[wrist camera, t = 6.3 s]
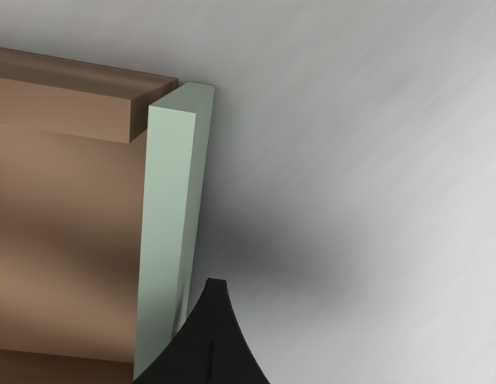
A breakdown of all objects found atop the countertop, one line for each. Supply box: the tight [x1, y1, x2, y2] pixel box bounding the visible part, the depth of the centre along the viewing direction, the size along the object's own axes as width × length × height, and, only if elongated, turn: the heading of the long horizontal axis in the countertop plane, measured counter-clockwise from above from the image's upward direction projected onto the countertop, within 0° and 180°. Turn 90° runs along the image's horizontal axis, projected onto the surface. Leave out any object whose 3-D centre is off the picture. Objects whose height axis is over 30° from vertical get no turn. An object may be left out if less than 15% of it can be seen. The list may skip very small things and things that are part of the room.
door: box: [133, 82, 215, 381], centre depth 13 cm, size 16×1×6 cm, turn 170°
